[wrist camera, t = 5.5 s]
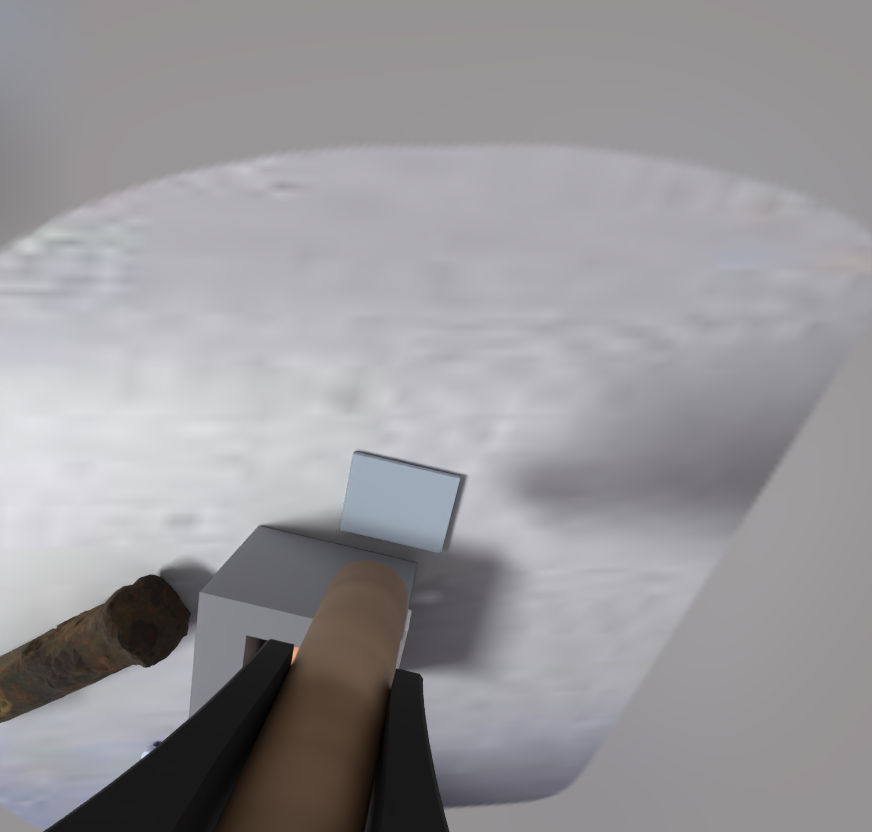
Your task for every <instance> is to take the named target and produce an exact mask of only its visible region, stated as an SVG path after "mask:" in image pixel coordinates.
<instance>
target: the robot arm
mask: <svg viewBox="0 0 872 832" xmlns="http://www.w3.org/2000/svg"><path fill="white" fill-rule="evenodd" d="M294 645H295V644H291V643H286V642H282V641H278V640H274V639H270V640H268V641H266V642H265V643H264V645H263V646H262V647H261V648H260V649H259V650H258V651H257V652H256V653H255V655H254V656H253V657H252V658H251V659H250V660H249V661H248V662H247V663H246V664H245V665H244V666H243V667H242V668H241V669H240V670H239V671H238V672H237V673H236V674H235V675H234V676H233V677H232V678H231V679H230V680H229V681H228V682H227V683H226V684H225V685H224V686H223V687H222V688H221V689H220V690H219V691H218V692H217V693H216V694H215V695H214V696H213V697H212V698H211V699H210V700H209V701H208V702H206V703H205V704H204V705H203V706H202V707H201V708H200V709H199V710H198V711H197V712H196V713H195V714H194V715H192V716H191V717H190V718H189V719H188V720H187V721H186V722H185V723H183V724H182V725H181V726H180V727H179V728H178V729H176V730H175V731H174V732H173V733H172V734H171V735H170V736H168V737H167V738H166V739H165V740H164V741H163V742H162V743H160V744H159V745H158V746H157V747H156V746H149V747H147V748H146V749H145V750H144V752H143V753H142V758H141V760H140V761H139V762H137V763H136V764H135V765H133V766H132V767H131V768H130V769H128V770H127V771H126V772H125V773H123V774H122V775H121V776H119V777H118V778H117V779H115V780H114V781H113V782H112V783H110V784H109V785H108V786H106V787H105V788H104V789H102V790H101V791H100V792H98V793H97V794H96V795H94V796H93V797H91V798H90V799H89V800H87V801H86V802H84V803H83V804H82V805H80V806H79V807H78V808H76V809H75V810H73V811H72V812H71V813H69V814H68V815H67V816H65V817H64V818H62V819H61V820H59V821H58V822H57V823H55V824H54V825H52V826H51V827H49V828H48V829H46V830H45V831H44V832H213V830H214V828H215V826H216V824H217V822H218V820H219V817H220V815H221V813H222V811H223V809H224V807H225V805H226V803H227V800H228V798H229V796H230V794H231V792H232V790H233V788H234V786H235V784H236V781H237V779H238V777H239V775H240V773H241V771H242V769H243V767H244V764H245V762H246V760H247V758H248V756H249V754H250V752H251V750H252V748H253V745H254V743H255V741H256V739H257V737H258V735H259V733H260V731H261V728H262V726H263V724H264V722H265V720H266V718H267V716H268V714H269V712H270V709H271V707H272V705H273V703H274V701H275V699H276V697H277V695H278V693H279V690H280V688H281V686H282V684H283V682H284V680H285V678H286V676H287V673H288V671H289V669H290V667H291V664H292V657H293V651H294ZM365 832H449V829H448V825H447V821H446V818H445V813H444V809H443V805H442V801H441V797H440V793H439V788H438V784H437V779H436V775H435V770H434V765H433V759H432V754H431V749H430V744H429V738H428V731H427V724H426V717H425V708H424V697H423V678H422V677H421V675H420V674H418V673H413V672H409V671H405V670H401V669H397V668H396V670H395V674H394V678H393V682H392V686H391V690H390V696H389V701H388V706H387V711H386V717H385V722H384V727H383V734H382V741H381V747H380V753H379V759H378V764H377V769H376V775H375V780H374V785H373V790H372V796H371V801H370V806H369V812H368V817H367V822H366V827H365Z"/></svg>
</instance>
